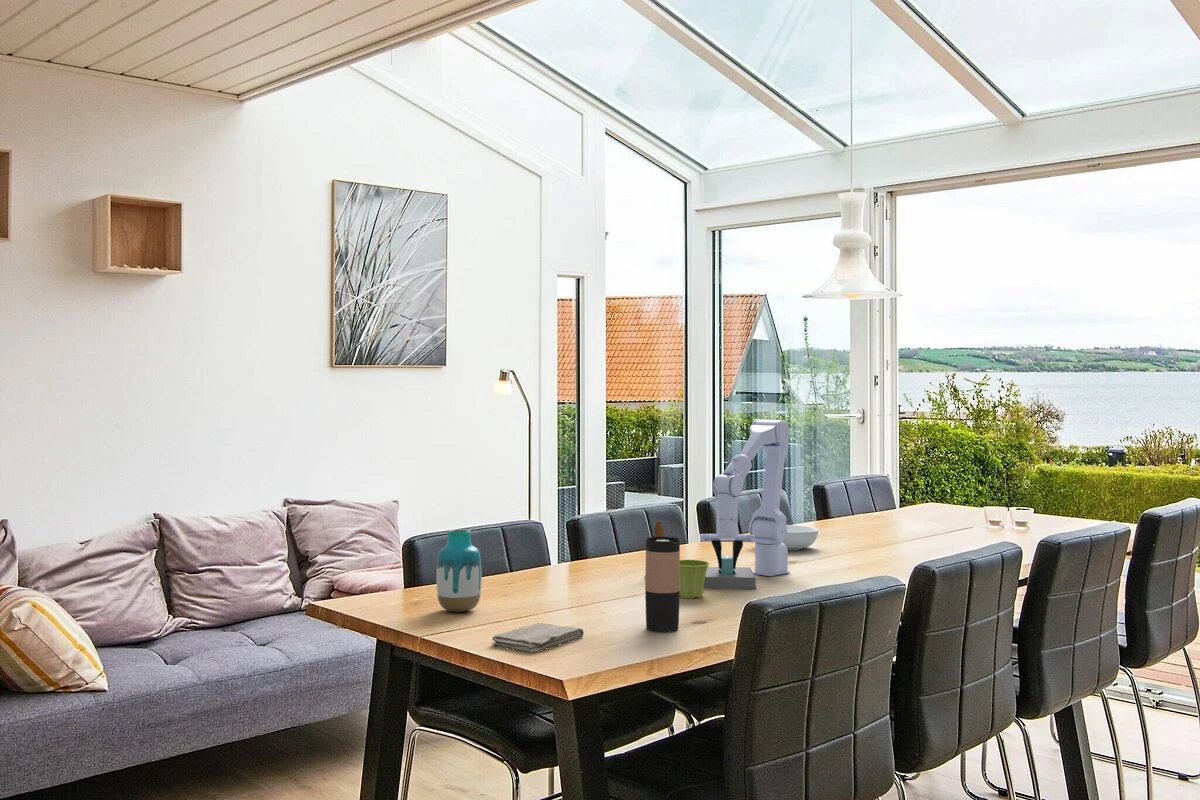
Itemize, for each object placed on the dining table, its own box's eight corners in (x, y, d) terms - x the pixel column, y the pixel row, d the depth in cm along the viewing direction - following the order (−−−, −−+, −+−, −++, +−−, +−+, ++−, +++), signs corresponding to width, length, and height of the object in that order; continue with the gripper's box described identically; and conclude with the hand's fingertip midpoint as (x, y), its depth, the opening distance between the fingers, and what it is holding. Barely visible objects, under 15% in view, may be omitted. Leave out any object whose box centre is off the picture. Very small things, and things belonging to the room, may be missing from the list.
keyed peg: (720, 581, 301) (720, 555, 301) (731, 581, 301) (731, 555, 300) (721, 584, 296) (722, 558, 296) (733, 584, 296) (733, 558, 296)
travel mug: (643, 625, 246) (643, 536, 245) (676, 624, 246) (677, 536, 246) (647, 633, 238) (647, 541, 238) (682, 632, 239) (682, 541, 238)
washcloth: (488, 648, 226) (488, 633, 225) (539, 632, 241) (539, 618, 241) (535, 656, 219) (535, 641, 219) (584, 639, 234) (584, 625, 234)
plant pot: (712, 594, 282) (713, 560, 282) (704, 601, 273) (704, 566, 273) (677, 591, 285) (677, 558, 285) (668, 598, 276) (668, 564, 276)
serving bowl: (823, 553, 350) (823, 532, 350) (758, 553, 350) (758, 532, 350) (812, 544, 371) (812, 524, 370) (750, 543, 371) (750, 523, 371)
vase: (462, 617, 252) (462, 535, 252) (427, 612, 258) (427, 531, 258) (490, 609, 261) (490, 530, 261) (455, 604, 267) (456, 526, 267)
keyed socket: (699, 577, 306) (699, 566, 306) (749, 578, 305) (750, 567, 305) (702, 588, 290) (702, 576, 290) (755, 588, 289) (755, 577, 289)
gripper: (701, 520, 294) (701, 570, 294) (755, 520, 293) (755, 571, 293) (700, 517, 301) (699, 566, 301) (753, 517, 300) (752, 566, 300)
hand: (726, 568), depth 298 cm, fingers closed on keyed peg, 3 cm apart
